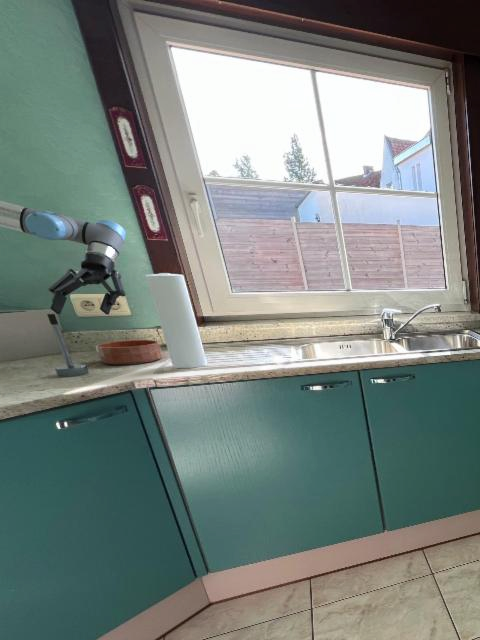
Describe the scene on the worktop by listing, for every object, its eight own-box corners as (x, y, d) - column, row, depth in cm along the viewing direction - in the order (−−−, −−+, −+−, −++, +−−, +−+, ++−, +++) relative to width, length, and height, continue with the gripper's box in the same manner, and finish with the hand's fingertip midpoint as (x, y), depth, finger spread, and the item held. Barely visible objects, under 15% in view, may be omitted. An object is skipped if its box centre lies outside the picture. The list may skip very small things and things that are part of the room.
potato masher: (54, 377, 149) (30, 315, 142) (61, 373, 155) (37, 313, 148) (86, 375, 153) (63, 314, 146) (91, 370, 158) (70, 312, 151)
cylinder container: (208, 361, 175) (184, 272, 164) (206, 366, 168) (181, 274, 157) (174, 363, 170) (147, 272, 159) (171, 369, 163) (142, 274, 152)
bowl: (97, 367, 163) (90, 349, 160) (107, 358, 175) (101, 341, 173) (160, 362, 171) (155, 345, 169) (165, 354, 183) (161, 338, 181)
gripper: (149, 269, 170) (132, 319, 162) (66, 268, 166) (45, 318, 158) (133, 253, 163) (115, 304, 155) (46, 251, 159) (23, 303, 151)
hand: (79, 311), depth 157 cm, fingers open, 13 cm apart
